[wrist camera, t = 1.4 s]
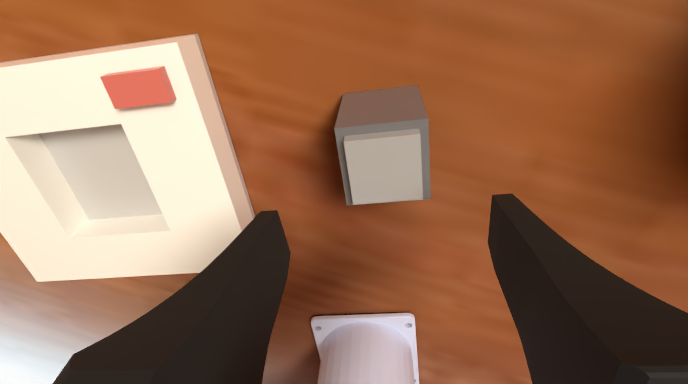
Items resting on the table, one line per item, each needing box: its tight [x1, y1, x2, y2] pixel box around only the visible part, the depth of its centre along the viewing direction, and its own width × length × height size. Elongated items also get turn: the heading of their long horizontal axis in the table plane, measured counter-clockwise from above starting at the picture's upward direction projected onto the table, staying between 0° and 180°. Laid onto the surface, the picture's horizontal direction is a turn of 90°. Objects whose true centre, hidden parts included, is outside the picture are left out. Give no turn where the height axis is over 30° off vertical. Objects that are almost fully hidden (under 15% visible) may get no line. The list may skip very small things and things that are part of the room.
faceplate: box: [0, 33, 255, 282], centre depth 23 cm, size 14×16×3 cm
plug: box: [334, 85, 431, 205], centre depth 19 cm, size 4×4×6 cm
